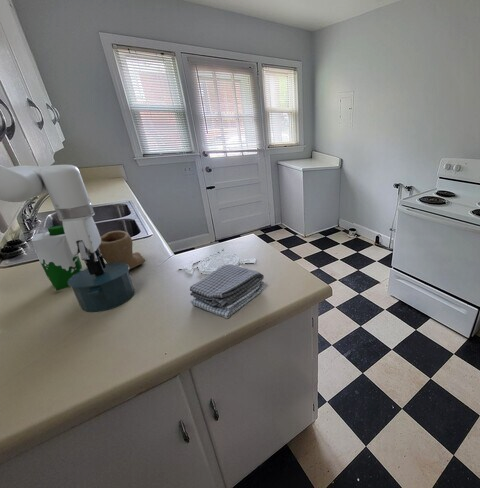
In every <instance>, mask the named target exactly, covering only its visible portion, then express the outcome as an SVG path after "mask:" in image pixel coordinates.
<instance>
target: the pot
mask: <svg viewBox="0 0 480 488" xmlns="http://www.w3.org/2000/svg"><path fill="white" fill-rule="evenodd" d="M71 289H72V291H73V294H74V296H75V298H76V300H77V303H78V305H79V307H80V309H81V311H83V312H86V313H98V312H105V311H108V310H111V309H115V308H117V307H119V306H121V305H123V304H125V303H127V302H128V301H129V300H131V299H132V298H133V297H134V295H135V293H136V291H135V290H136V289H135V286H134V284H133V281H132V277H131V274H130V270H129V271H128V272H127V273H126V274H125V275H124V276H122V277H120V278H119V279H117V280H114V281H112V282H109V283H106V284H103V285H99V286H95V287H89V288H73V287H71Z"/></svg>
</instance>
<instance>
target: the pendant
mask: <svg viewBox="0 0 480 488" xmlns="http://www.w3.org/2000/svg"><path fill="white" fill-rule="evenodd" d="M231 251H232V250H223V251H222V252H227V253H228V252H231ZM217 252H218V251H215V252H213V253H217ZM219 256H220V257H219ZM221 256H222V257H221ZM213 257H217V258H214V259H213ZM207 258H208V259H207ZM191 261H192V260H191ZM191 261H190V262H191ZM203 261H204V262H206V264H205V263H202V262H203ZM207 261H208V262H207ZM190 262H189V263H190ZM192 262H193V261H192ZM192 262H191V263H192ZM191 263H190V264H191ZM242 263H243V264H242ZM245 263H254V264H253V265H256V264H257V258H255V257H252V258H245V259H241V260H240V257H239V256H237V254H236V253H235V254H213V255H210V256H209V257H207V256H206V257H205V258H203V260H201V261H200V262H197V263H193V265H192V266H195V265H196V264H197V266H198V268H197V270H198V269H199V270H198V272H199V274H200V275H204V274H201V273H208V274H206V275H207V276H209V275H210V274H211V273H213V272H214V271H216V270H217V269H219V268H220V267H222V266H224V265H228V264H231V265H235V266H238V267H242V268H244V266H242V265H246V264H245ZM200 264H201V267H202V268H201V267H200ZM183 267H184V268H185V267H186V266H183ZM187 267H188V266H187ZM189 267H190V265H189ZM189 267H188V268H189ZM188 268H187V269H182V270H181V271H185V273H186V274H188V273H191V274H189V275H190V276H194V272H195V269H196V268H192V269H194V271H193V270H192V269H191V268H189V269H188ZM187 272H188V273H187ZM200 272H201V273H200Z"/></svg>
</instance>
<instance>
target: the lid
mask: <svg viewBox="0 0 480 488" xmlns="http://www.w3.org/2000/svg"><path fill="white" fill-rule="evenodd" d="M97 259H98V260H100V258H99V256H97ZM100 262H101V261H100ZM101 265H102V263H101ZM105 265H106V268H103V266H102V268H103V270H104V272H103V273H99V274H94V275H90V273H89V271H88V268H87V267H86V268H84V269H83V270H82V271H80V272H78V273H76V274H75V275H73V276H72V277H71V278H70V279H69V280H68V285H69V286H70V287H71V288H72V287H73V288H89V287H95V286H99V285H103V284H106V283H109V282H112V281H114V280H117V279H119V278H120V277H122V276H124V275H125V274H126V273H127V272H128V271H129V272H130V270H129V266H128V265H127V264H125V263H106V262H105ZM70 287H69V288H70Z"/></svg>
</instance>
